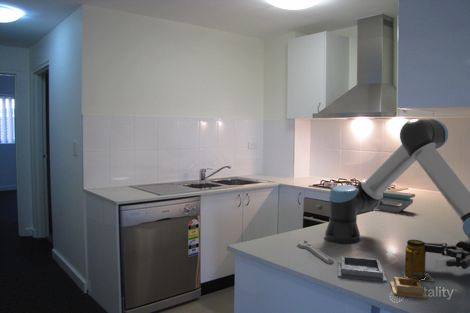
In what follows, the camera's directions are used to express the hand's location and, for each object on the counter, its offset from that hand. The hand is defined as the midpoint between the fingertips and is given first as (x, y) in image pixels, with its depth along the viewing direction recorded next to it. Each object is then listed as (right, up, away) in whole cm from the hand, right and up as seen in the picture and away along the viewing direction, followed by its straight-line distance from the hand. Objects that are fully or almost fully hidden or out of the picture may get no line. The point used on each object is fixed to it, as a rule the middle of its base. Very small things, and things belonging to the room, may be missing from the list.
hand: (420, 256), depth 125 cm
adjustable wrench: (-30, -6, +25) cm, 40 cm away
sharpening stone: (+33, +1, +103) cm, 108 cm away
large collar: (-18, -7, +6) cm, 20 cm away
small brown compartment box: (-9, -8, -10) cm, 15 cm away
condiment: (-1, -7, +1) cm, 7 cm away
